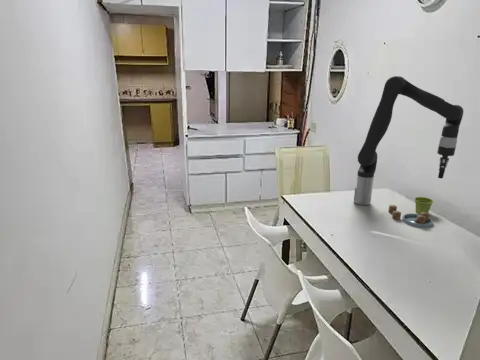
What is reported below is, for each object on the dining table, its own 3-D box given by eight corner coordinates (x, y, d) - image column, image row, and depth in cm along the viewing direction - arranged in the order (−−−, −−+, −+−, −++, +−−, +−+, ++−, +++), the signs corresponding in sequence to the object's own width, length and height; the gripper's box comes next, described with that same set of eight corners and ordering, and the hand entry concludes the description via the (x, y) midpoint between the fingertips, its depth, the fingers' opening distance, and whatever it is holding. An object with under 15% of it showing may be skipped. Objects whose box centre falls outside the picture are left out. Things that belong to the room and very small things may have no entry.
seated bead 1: (415, 225, 177) (416, 216, 176) (416, 222, 180) (417, 214, 179) (423, 226, 175) (425, 218, 173) (424, 224, 178) (426, 216, 177)
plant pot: (434, 217, 188) (437, 203, 186) (416, 217, 188) (419, 202, 186) (425, 211, 197) (428, 196, 194) (409, 211, 197) (411, 196, 195)
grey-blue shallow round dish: (399, 224, 179) (400, 220, 179) (404, 215, 191) (405, 211, 190) (430, 231, 172) (431, 226, 171) (433, 221, 183) (434, 217, 182)
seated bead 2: (418, 221, 181) (420, 213, 180) (420, 219, 184) (421, 211, 183) (427, 223, 179) (428, 215, 177) (428, 220, 182) (429, 212, 181)
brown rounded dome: (391, 220, 185) (392, 212, 184) (392, 217, 188) (393, 210, 187) (399, 222, 183) (400, 214, 181) (400, 219, 186) (401, 211, 185)
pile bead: (387, 214, 193) (388, 206, 192) (389, 211, 196) (390, 204, 195) (395, 215, 191) (396, 208, 190) (396, 213, 194) (397, 205, 193)
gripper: (440, 142, 182) (434, 171, 187) (437, 147, 170) (431, 178, 175) (456, 144, 178) (450, 173, 183) (455, 149, 166) (448, 180, 171)
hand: (441, 176), depth 179 cm, fingers open, 8 cm apart
